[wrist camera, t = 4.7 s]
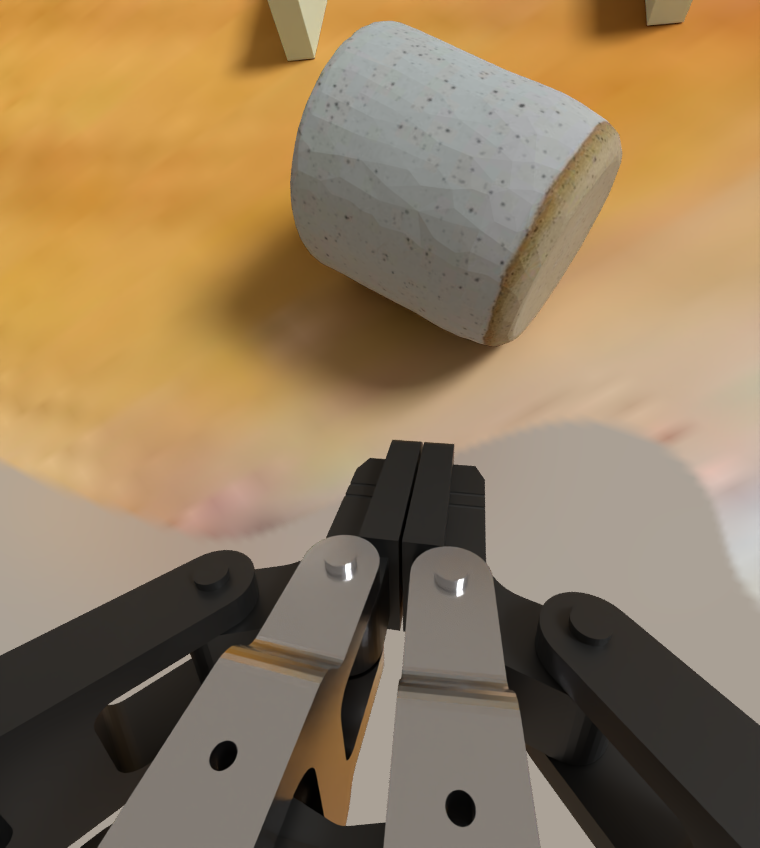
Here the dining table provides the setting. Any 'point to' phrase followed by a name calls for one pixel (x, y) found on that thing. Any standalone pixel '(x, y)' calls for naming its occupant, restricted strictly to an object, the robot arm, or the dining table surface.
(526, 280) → the ceramic mug
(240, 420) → the dining table surface
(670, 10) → the u-shaped bracket
